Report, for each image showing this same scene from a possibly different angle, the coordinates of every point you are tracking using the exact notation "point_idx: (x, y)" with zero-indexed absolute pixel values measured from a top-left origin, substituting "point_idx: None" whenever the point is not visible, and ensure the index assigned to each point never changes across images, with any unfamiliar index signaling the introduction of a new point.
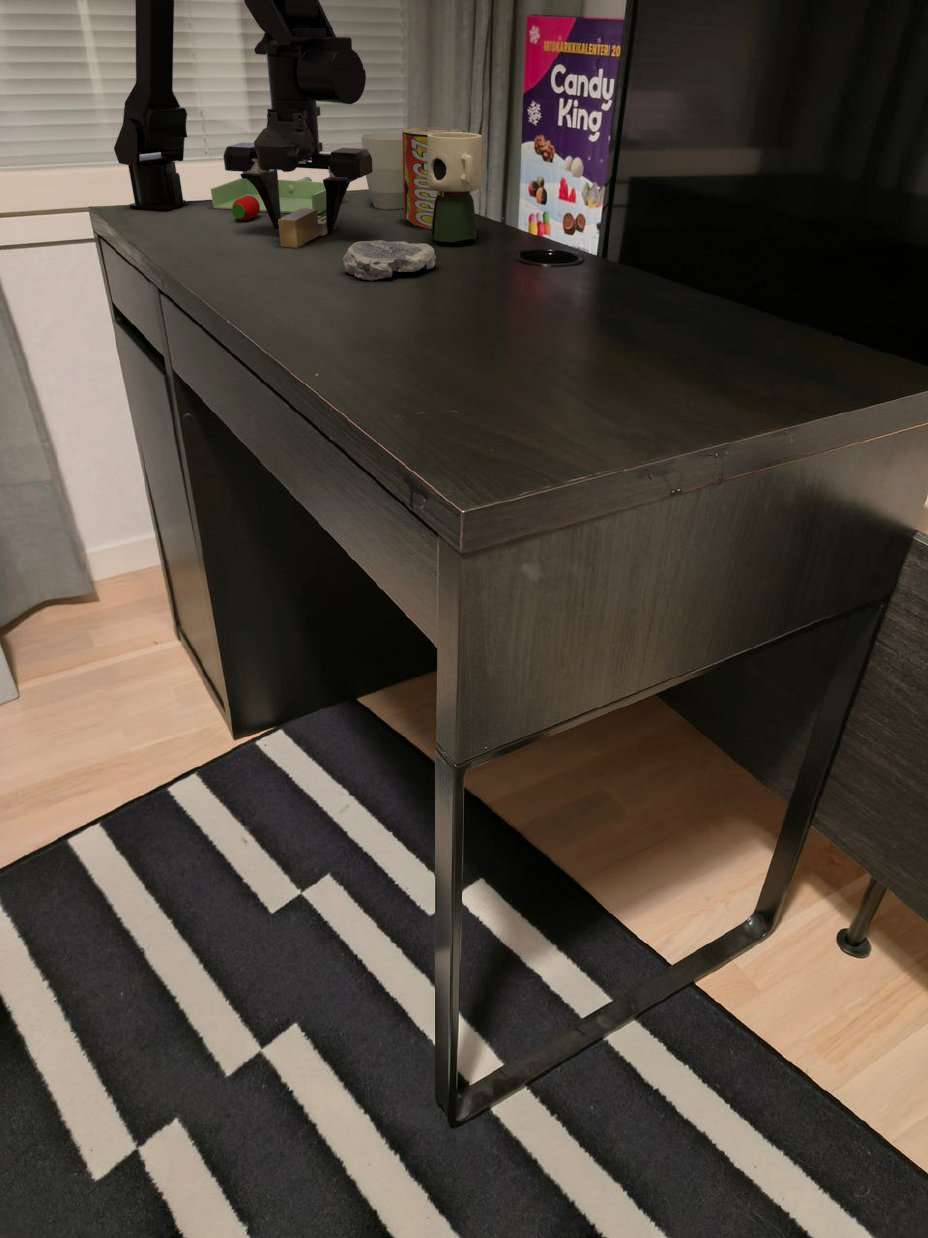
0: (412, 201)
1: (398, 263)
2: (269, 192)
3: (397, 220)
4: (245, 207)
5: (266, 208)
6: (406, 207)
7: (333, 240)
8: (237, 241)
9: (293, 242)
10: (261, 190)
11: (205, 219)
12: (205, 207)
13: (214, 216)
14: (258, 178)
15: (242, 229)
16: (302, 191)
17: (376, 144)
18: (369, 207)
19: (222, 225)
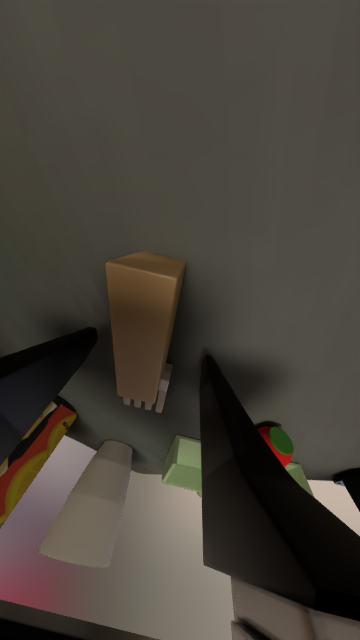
0: None
1: None
2: (225, 443)
3: (83, 412)
4: (270, 445)
5: (232, 391)
6: (44, 419)
7: (101, 327)
8: (297, 310)
9: (147, 254)
10: (260, 455)
11: (325, 435)
12: (309, 467)
13: (306, 443)
14: (316, 563)
15: (273, 391)
16: (200, 477)
17: (77, 548)
18: (134, 446)
19: (304, 411)
